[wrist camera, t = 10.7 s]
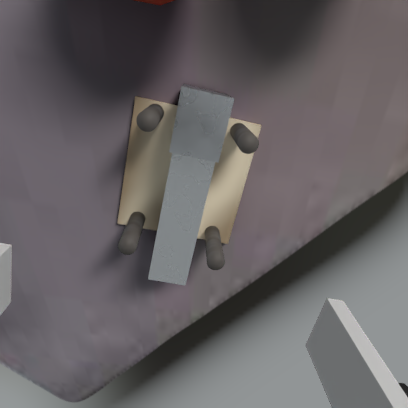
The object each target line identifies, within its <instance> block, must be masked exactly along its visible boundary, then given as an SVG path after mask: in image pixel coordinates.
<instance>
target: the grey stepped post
mask: <svg viewBox="0 0 408 408" xmlns="http://www.w3.org/2000/svg"><path fill="white" fill-rule="evenodd" d="M233 102H234V98H232V97H231V96H229V95H227V94H224V93H220V92H216V91H212V90H207V89H203V88H199V87H195V86H191V85H186V84H183V85H182V86H181V91H180V97H179V102H178V107H177V113H176V118H175V123H174V129H173V134H172V139H171V145H170V150H169V152H171V153H172V156H171V162H170V167H169V172H168V177H167V183H166V188H165V193H164V198H163V203H162V209H161V214H160V219H159V224H158V229H157V235H156V240H155V245H154V250H153V255H152V261H151V266H150V271H149V276H148V279H149V280H155V281H161V282H167V283H173V284H179V285H186V281H187V277H188V273H189V269H190V265H191V261H192V256H193V252H194V248H195V244H196V240H197V236H198V232H199V228H200V224H201V219H202V215H203V211H204V207H205V203H206V199H207V195H208V191H209V187H210V182H211V178H212V174H213V170H214V166H215V162H218V163H219V159H220V155H221V151H222V146H223V142H224V138H225V134H226V130H227V126H228V122H229V118H230V114H231V110H232V106H233Z"/></svg>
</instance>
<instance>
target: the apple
mask: <svg viewBox="0 0 408 408" xmlns="http://www.w3.org/2000/svg"><path fill="white" fill-rule="evenodd" d="M134 1H140V2H145V3H150V4H156V5H163V4H165V3H168V2H171V1H174V0H134Z"/></svg>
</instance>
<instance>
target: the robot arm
mask: <svg viewBox="0 0 408 408" xmlns="http://www.w3.org/2000/svg"><path fill="white" fill-rule="evenodd" d="M11 260H12V245H9V244H3V243H0V316H1V314H2V313H3V312H4V310H5V309H6V308H7V306H8V305H9V304H10V302H11ZM306 348H307V350H308V352H309V355H310V357H311V359H312V361H313V364H314V366H315V369H316V371H317V373H318V376H319V378H320V380H321V383H322V385H323V387H324V390H325V392H326V395H327V397H328V399H329V402H330V404H331V406H332V408H408V387H407V386H406V385H405V384H403V383H398V382H397V381H396V379H395V378H394V376H393V375H392V373H391V372H390V370H389V369H388V367H387V366H386V364H385V363H384V361H383V360H382V358H381V357H380V355H379V354H378V352H377V351H376V349H375V348H374V347H373V345H372V343H371V342H370V340H369V339H368V337H367V336H366V334H365V333H364V331H363V330H362V328H361V327H360V325H359V324H358V322H357V321H356V319H355V318H354V316H353V315H352V313H351V312H350V310H349V309H348V307H347V306H346V304H345V303H344V301H341V300H335V299H330V298H327V299H326V301H325V303H324V306H323V308H322V310H321V312H320V315H319V317H318V319H317V321H316V324H315V325H314V328H313V330H312V332H311V334H310V337H309V339H308V341H307V343H306Z"/></svg>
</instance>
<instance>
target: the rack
mask: <svg viewBox="0 0 408 408" xmlns="http://www.w3.org/2000/svg"><path fill="white" fill-rule="evenodd" d="M177 107H178V106H177V105H173V104H168V103H164V102H160V101H155V100H151V99H147V98H142V97H138V96H136V97H135V103H134V110H133V117H132V124H131V131H130V138H129V145H128V152H127V159H126V166H125V173H124V180H123V187H122V194H121V201H120V208H119V216H118V223H117V224H123V225H126V227H125V230H124V232H123V234H122V236H121V239H120V241H119V243H118V249H119V251H120V252H121V253H123V254H126V255H130V254H133V253H134V252H135V251H136V248H137V245H138V242H139V239H140V235H141V232H142V229H143V228H144V229H150V230H155V231H157V229H158V224H159V219H160V214H161V209H162V203H163V198H164V193H165V188H166V183H167V177H168V172H169V167H170V162H171V156H172V153H171V152H169V150H170V145H171V139H172V134H173V129H174V123H175V118H176V113H177ZM260 129H261V125H260V124H255V123H251V122H247V121H242V120H238V119H234V118H229V122H228V126H227V130H226V134H225V138H224V142H223V146H222V151H221V155H220V159H219V163H218V162H215V166H214V170H213V174H212V178H211V182H210V187H209V191H208V195H207V199H206V203H205V207H204V211H203V215H202V219H201V224H200V228H199V232H198V236H197V238H198V239H204V240H205V244H206V256H207V265H208V267H209V268H210V269H212V270H219V269H221V268H222V267H223V266H224V264H225V260H224V255H223V249H222V243H225V244H228V242H229V238H230V234H231V231H232V227H233V224H234V220H235V217H236V213H237V210H238V206H239V203H240V199H241V196H242V192H243V189H244V185H245V182H246V178H247V175H248V171H249V168H250V164H251V161H252V157H253V154H254V152H255V151H256V150H257V148H258V145H259V141H258V136H259V132H260Z"/></svg>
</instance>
